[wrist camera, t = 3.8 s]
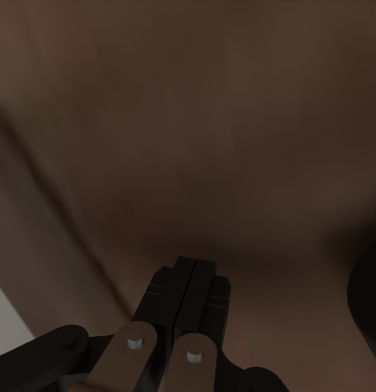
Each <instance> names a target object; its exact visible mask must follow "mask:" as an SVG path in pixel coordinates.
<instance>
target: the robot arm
mask: <svg viewBox="0 0 376 392" xmlns="http://www.w3.org/2000/svg"><path fill="white" fill-rule="evenodd" d="M216 265H217V263H216V262H212V261H206V260H200V259H198V260H197V259H194V258H189V257H183V256H178V258H177V260H176V263H175V265H174V267H173V268H170V267H165V266H163V267H162V268H161V269H160V270H158V271H157V272H156V273H155V274H154V276H153V278H152V280H151V282H150V285H149V286H148V288H147V290H146V293H145V294H144V296H143V298H142V300H141V302H140V304H139V306H138V308H137V310H136V312H135V314H134V316H133V318H132V320H131V322H129V323H126V324H124V325H123V326H121V327H120V328H119V329H118V330H117V332H116V333H115V334H113V335H108V336H97V337H89V335H88V332H87V331H86V330H85V329H84V328H83V327H81V326H78V325H65V326H62V327H59V328H57V329H55V330H53V331H51V332H48V333H46V334H44V335H42V336H40V337H38V338H36V339H34V340H32V341H30V342H28V343H25V344H23V345H21V346H19V347H17V348H15V349H13V350H11V351H9V352H7V353H5V354H3V355H0V392H158V388H159V385H160V382H161V379H162V376H163V375H166V379H165V383H164V387H163V392H289V390H288V389H287V388H286V386H285V385H284V383H283V382H282V381H281V379H280V378H279V377H278V376H277V375H276V374H275V373H273V372H272V371H270V370H268V369H265V368H261V367H251V368H248V369H246V370H243V369H241V368H239V367H238V366H236V365H234V364H233V363H231V362H230V361H229V360H228V359H227V358H226V356H225V355H224V353H223V351H222V345H223V340H224V334H225V328H226V323H227V318H228V310H229V301H230V293H231V286H230V284H229V281H228V278H226V277H221V276H216Z"/></svg>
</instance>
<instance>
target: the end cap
mask: <svg viewBox="0 0 376 392" xmlns="http://www.w3.org/2000/svg"><path fill="white" fill-rule="evenodd" d="M347 300H348V307H349V309H350V312H351V315H352V317H353V320H354V322H355V324H356V326H357V327H358V329H359V331H360V332H361V334H362V336H363V337H364V339H365V341H366V342H367V344H368V346H369V347H370V349H371V351H372V352H373V354H374V356H375V357H376V240H375V241H374V242H372V243H371V244H370V245H369V246H368V247H367V248H366V249H365V250H364V252H363V253H362V254H361V256H360V257H359V258H358V260H357V261H356V263H355V265H354V267H353V269H352V271H351V273H350V276H349V281H348V286H347Z"/></svg>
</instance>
